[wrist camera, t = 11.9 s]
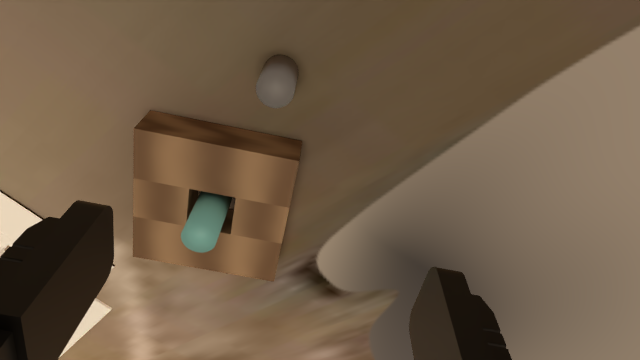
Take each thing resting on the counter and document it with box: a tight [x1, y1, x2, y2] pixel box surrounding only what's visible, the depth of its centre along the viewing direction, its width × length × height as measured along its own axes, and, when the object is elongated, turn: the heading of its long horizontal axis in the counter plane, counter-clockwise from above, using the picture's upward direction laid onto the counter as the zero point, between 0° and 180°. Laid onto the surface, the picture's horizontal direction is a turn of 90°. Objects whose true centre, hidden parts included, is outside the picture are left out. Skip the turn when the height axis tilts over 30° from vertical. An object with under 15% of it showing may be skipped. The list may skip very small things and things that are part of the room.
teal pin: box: [181, 191, 233, 253], centre depth 43 cm, size 3×3×8 cm
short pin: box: [256, 55, 298, 108], centre depth 38 cm, size 3×3×4 cm
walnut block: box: [133, 110, 302, 281], centre depth 45 cm, size 14×14×4 cm
